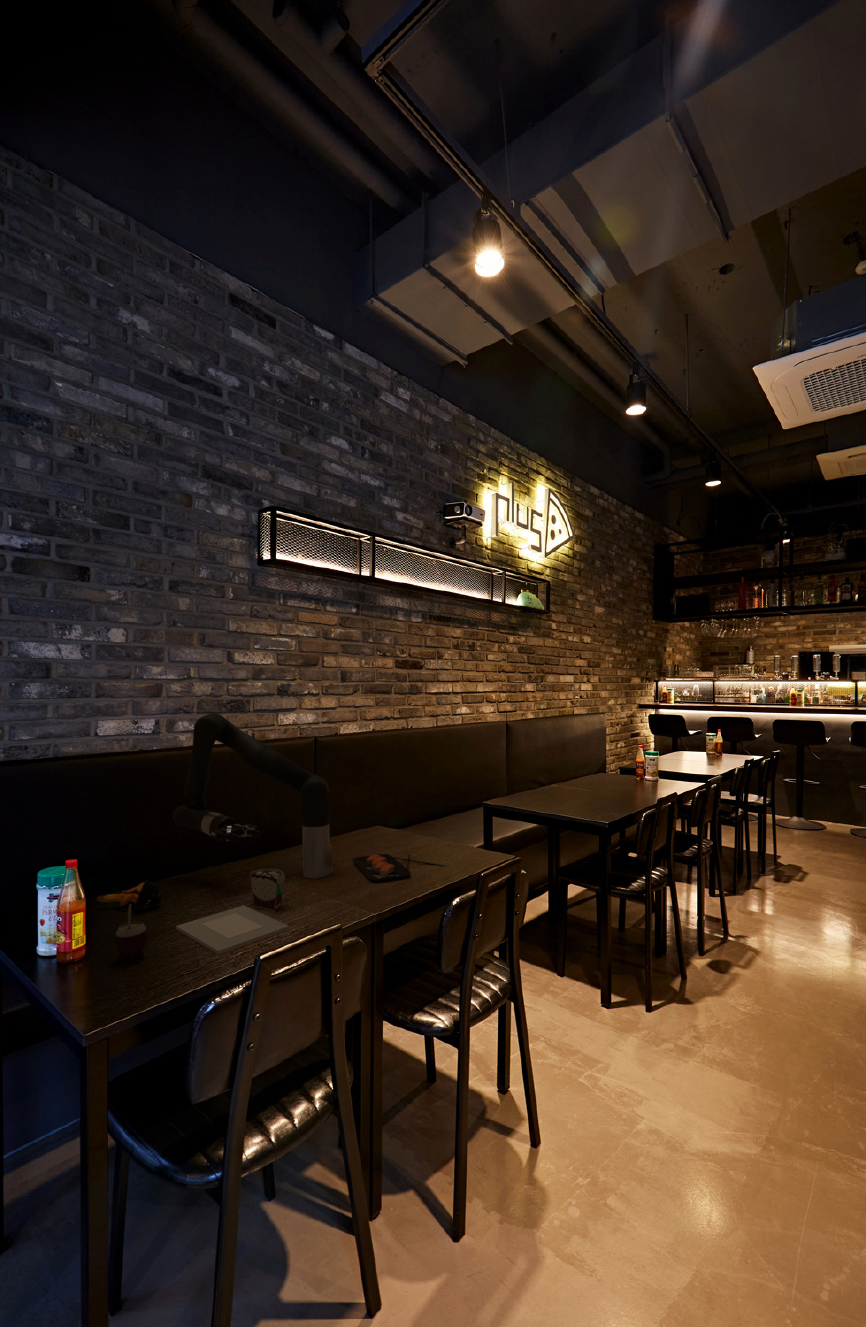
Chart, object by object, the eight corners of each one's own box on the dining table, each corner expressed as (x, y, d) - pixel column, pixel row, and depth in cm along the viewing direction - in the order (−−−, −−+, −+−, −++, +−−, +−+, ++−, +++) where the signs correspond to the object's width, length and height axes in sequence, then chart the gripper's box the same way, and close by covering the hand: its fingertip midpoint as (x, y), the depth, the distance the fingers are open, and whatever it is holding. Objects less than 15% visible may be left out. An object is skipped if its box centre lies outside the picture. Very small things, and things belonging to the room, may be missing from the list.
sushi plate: (350, 863, 225) (350, 852, 225) (426, 852, 236) (426, 843, 236) (371, 886, 198) (371, 874, 198) (456, 873, 209) (455, 862, 209)
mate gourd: (132, 950, 152) (132, 890, 153) (156, 955, 149) (155, 893, 150) (106, 963, 145) (106, 900, 146) (130, 968, 142) (130, 904, 143)
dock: (243, 908, 179) (243, 904, 180) (288, 929, 163) (288, 925, 163) (176, 929, 165) (176, 925, 165) (218, 955, 148) (218, 950, 148)
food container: (294, 905, 181) (293, 871, 181) (278, 912, 176) (278, 877, 176) (265, 898, 188) (265, 866, 188) (249, 905, 182) (249, 871, 183)
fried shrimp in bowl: (158, 898, 177) (94, 883, 174) (150, 927, 180) (88, 913, 177) (169, 877, 186) (108, 862, 183) (161, 905, 189) (102, 891, 186)
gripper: (200, 817, 195) (232, 828, 186) (237, 812, 207) (268, 822, 198) (197, 840, 195) (229, 853, 186) (234, 834, 207) (266, 846, 197)
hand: (249, 837), depth 192 cm, fingers open, 8 cm apart
